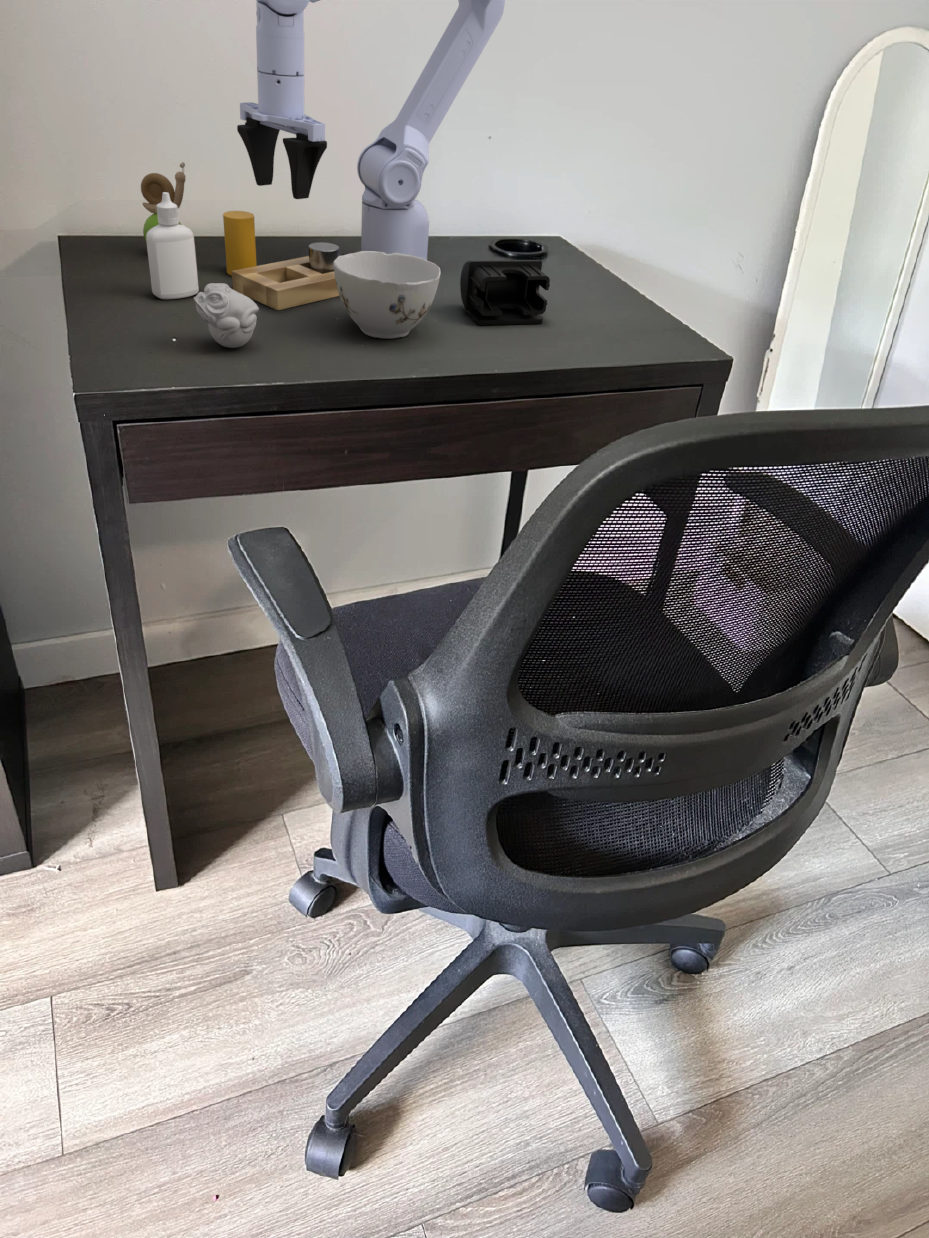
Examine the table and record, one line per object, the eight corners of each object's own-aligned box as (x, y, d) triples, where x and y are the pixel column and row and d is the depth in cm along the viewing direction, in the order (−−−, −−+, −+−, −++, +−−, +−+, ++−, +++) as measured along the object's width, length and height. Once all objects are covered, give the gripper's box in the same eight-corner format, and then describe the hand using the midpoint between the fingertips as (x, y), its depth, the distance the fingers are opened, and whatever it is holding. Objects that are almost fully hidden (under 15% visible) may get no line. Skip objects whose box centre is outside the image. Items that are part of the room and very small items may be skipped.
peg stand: (232, 290, 119) (231, 271, 118) (327, 270, 129) (327, 252, 128) (277, 310, 115) (277, 290, 113) (372, 288, 125) (372, 269, 123)
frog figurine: (194, 338, 105) (188, 276, 101) (255, 335, 107) (252, 274, 103) (202, 358, 101) (197, 294, 96) (266, 354, 103) (263, 292, 99)
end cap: (527, 305, 125) (533, 254, 120) (547, 324, 119) (554, 270, 115) (457, 307, 122) (461, 254, 117) (475, 326, 116) (480, 271, 112)
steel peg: (325, 278, 126) (325, 240, 123) (345, 286, 124) (345, 248, 121) (303, 283, 124) (302, 245, 121) (322, 291, 122) (322, 252, 119)
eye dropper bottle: (198, 300, 115) (189, 198, 108) (152, 300, 114) (139, 196, 107) (199, 289, 118) (190, 189, 111) (153, 288, 117) (141, 187, 110)
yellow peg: (244, 266, 128) (241, 209, 123) (262, 274, 126) (260, 216, 121) (220, 271, 125) (216, 213, 121) (238, 279, 123) (235, 220, 119)
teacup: (453, 345, 110) (459, 277, 106) (356, 354, 105) (357, 284, 100) (403, 304, 121) (405, 240, 116) (312, 311, 116) (311, 245, 111)
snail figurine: (187, 261, 127) (178, 167, 120) (140, 257, 127) (129, 162, 120) (197, 250, 132) (189, 159, 124) (152, 246, 131) (141, 154, 124)
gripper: (218, 63, 114) (223, 181, 122) (293, 83, 107) (294, 207, 115) (263, 63, 118) (266, 177, 126) (338, 82, 111) (336, 202, 119)
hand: (282, 191), depth 121 cm, fingers open, 7 cm apart
